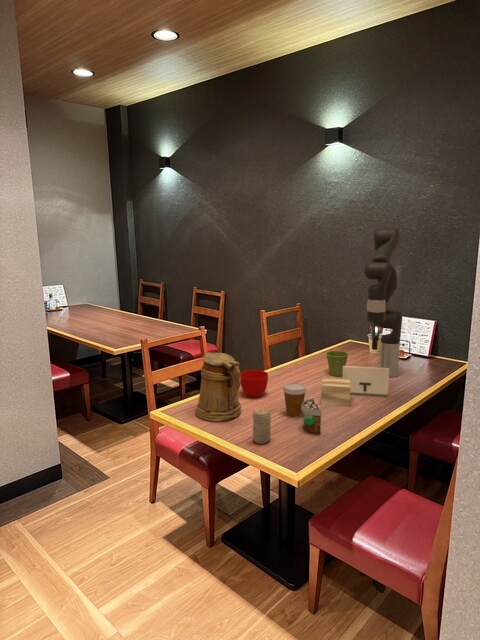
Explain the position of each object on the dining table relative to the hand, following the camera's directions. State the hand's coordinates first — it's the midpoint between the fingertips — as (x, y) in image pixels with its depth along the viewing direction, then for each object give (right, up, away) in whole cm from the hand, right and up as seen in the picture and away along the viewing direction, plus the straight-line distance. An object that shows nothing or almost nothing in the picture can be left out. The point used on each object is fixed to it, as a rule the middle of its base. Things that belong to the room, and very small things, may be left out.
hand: (374, 349), depth 197 cm
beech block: (-16, -23, +4) cm, 29 cm away
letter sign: (-1, -21, +13) cm, 25 cm away
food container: (-31, -29, -22) cm, 48 cm away
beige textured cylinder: (-50, -31, -31) cm, 67 cm away
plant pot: (-8, -16, +40) cm, 44 cm away
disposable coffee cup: (-35, -26, -8) cm, 45 cm away
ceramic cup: (-51, -22, +15) cm, 57 cm away
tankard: (-65, -27, -8) cm, 71 cm away
